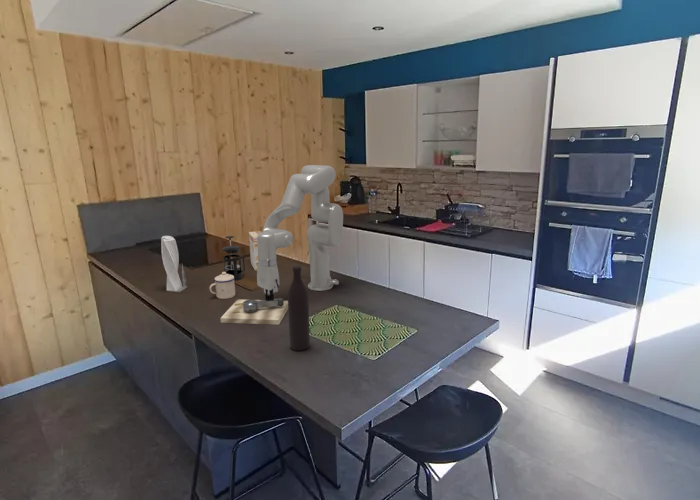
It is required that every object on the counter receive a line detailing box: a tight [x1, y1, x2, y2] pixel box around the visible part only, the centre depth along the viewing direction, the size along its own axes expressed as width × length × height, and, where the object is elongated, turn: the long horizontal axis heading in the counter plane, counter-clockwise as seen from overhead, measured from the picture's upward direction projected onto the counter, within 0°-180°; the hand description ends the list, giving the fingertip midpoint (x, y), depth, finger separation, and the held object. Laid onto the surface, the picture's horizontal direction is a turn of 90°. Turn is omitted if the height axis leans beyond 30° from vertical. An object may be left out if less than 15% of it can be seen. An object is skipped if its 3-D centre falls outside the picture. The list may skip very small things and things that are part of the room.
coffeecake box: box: [248, 230, 262, 272], centre depth 236 cm, size 15×7×20 cm, turn 22°
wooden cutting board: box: [220, 299, 288, 326], centre depth 174 cm, size 24×20×3 cm
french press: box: [221, 235, 246, 282], centre depth 216 cm, size 12×9×23 cm
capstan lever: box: [235, 297, 284, 312], centre depth 173 cm, size 20×6×3 cm, turn 106°
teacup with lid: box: [209, 271, 236, 300], centre depth 192 cm, size 12×9×12 cm
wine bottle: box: [287, 264, 311, 352], centre depth 143 cm, size 7×7×30 cm
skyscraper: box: [160, 235, 188, 293], centre depth 199 cm, size 8×8×28 cm
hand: (269, 302), depth 177 cm, fingers closed
